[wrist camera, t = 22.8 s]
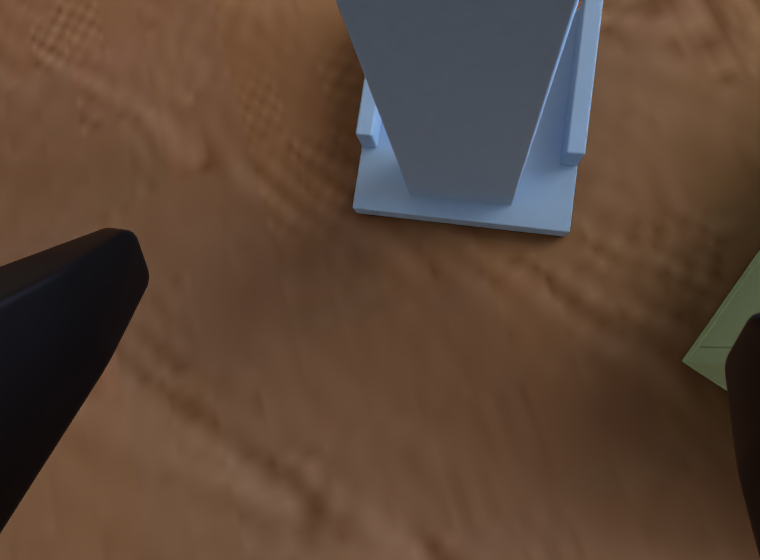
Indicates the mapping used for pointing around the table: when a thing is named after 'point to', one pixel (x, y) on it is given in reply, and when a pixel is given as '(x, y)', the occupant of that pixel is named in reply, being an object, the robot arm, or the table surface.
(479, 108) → the blue post stand
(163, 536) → the table surface
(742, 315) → the green planter box
